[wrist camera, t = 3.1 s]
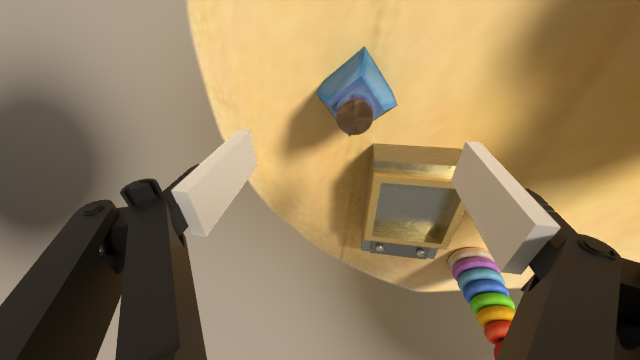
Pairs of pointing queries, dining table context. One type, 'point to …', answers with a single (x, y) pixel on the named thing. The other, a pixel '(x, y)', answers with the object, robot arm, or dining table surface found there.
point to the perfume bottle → (357, 94)
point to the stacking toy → (484, 291)
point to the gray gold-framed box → (411, 201)
